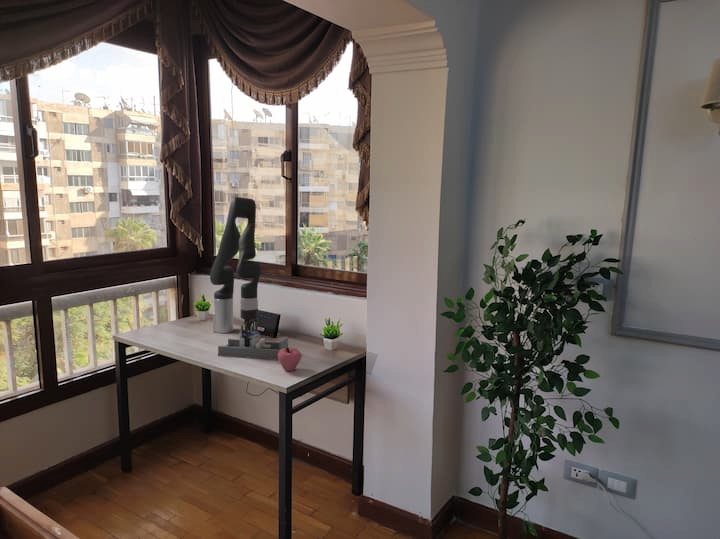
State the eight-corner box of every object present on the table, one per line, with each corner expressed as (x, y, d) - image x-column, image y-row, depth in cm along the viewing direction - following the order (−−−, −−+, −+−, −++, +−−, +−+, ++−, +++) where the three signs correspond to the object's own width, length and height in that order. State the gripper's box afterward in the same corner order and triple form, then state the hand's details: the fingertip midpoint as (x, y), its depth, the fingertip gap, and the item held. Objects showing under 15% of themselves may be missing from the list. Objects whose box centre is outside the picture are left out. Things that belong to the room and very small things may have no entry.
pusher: (255, 353, 230) (255, 344, 229) (262, 347, 239) (262, 338, 238) (267, 354, 229) (267, 344, 228) (273, 348, 238) (273, 339, 237)
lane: (218, 355, 230) (217, 340, 229) (229, 347, 243) (229, 332, 242) (280, 359, 227) (280, 344, 225) (288, 350, 239) (288, 335, 238)
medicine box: (239, 350, 235) (239, 331, 233) (245, 347, 238) (245, 328, 237) (253, 352, 231) (253, 333, 230) (259, 350, 235) (259, 331, 234)
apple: (303, 372, 212) (303, 348, 211) (282, 375, 208) (282, 350, 207) (294, 365, 221) (295, 341, 219) (274, 367, 217) (274, 344, 215)
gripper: (246, 303, 239) (247, 339, 242) (234, 310, 225) (235, 348, 228) (262, 304, 238) (262, 340, 241) (251, 311, 224) (251, 350, 227)
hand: (249, 344), depth 234 cm, fingers closed on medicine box, 5 cm apart
